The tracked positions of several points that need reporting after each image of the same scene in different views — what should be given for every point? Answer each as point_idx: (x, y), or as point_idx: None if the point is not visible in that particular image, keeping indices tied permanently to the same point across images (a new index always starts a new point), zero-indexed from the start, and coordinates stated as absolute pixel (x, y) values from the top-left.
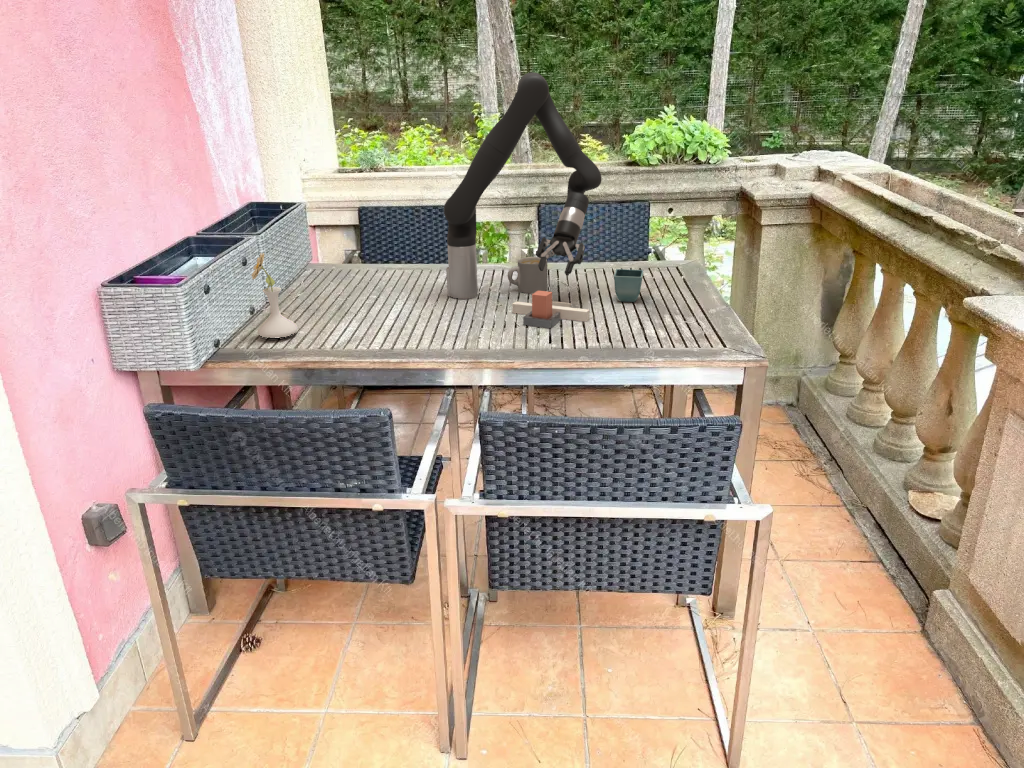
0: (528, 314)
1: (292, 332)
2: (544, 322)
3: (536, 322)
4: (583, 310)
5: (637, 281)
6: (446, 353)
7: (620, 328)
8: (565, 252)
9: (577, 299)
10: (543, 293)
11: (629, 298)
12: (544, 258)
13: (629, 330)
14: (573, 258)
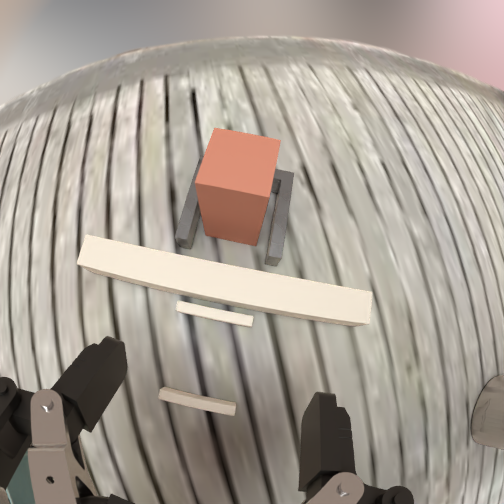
0: (284, 198)
1: None
2: None
3: None
4: (94, 250)
5: None
6: (364, 59)
7: (31, 209)
8: (89, 498)
9: (164, 487)
10: (232, 156)
11: None
12: (319, 466)
13: (19, 200)
14: (33, 420)
